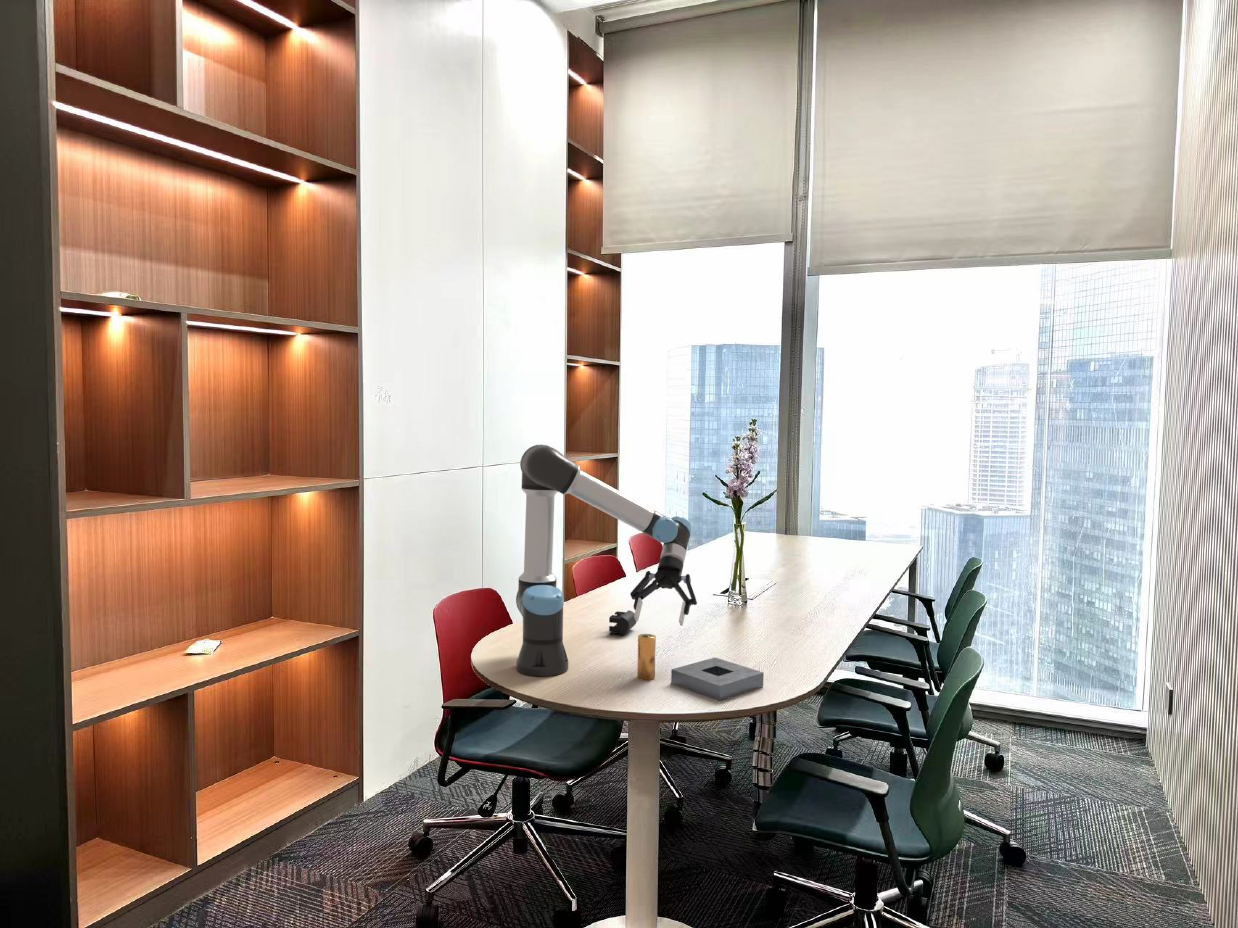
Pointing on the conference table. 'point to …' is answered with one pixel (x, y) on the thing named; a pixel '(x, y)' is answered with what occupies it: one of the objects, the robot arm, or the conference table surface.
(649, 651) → the bushing
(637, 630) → the conference table surface
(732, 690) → the jig
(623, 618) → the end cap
